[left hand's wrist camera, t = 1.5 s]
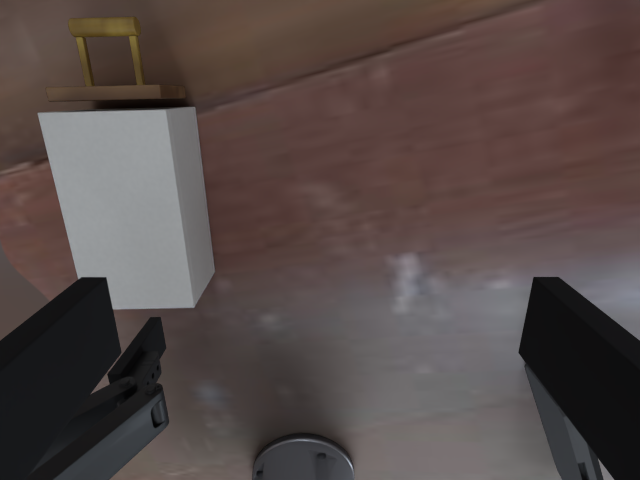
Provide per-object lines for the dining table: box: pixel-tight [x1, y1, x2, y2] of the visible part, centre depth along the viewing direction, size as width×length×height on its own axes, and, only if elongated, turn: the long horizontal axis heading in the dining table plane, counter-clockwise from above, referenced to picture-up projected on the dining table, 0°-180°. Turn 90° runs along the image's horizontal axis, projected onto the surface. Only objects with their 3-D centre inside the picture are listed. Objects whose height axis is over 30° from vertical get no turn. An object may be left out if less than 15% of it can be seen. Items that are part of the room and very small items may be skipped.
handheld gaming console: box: [525, 363, 603, 480], centre depth 54 cm, size 23×3×10 cm, turn 24°
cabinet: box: [38, 107, 215, 309], centre depth 43 cm, size 20×11×9 cm, turn 1°
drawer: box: [46, 17, 186, 102], centre depth 41 cm, size 24×10×7 cm, turn 1°
